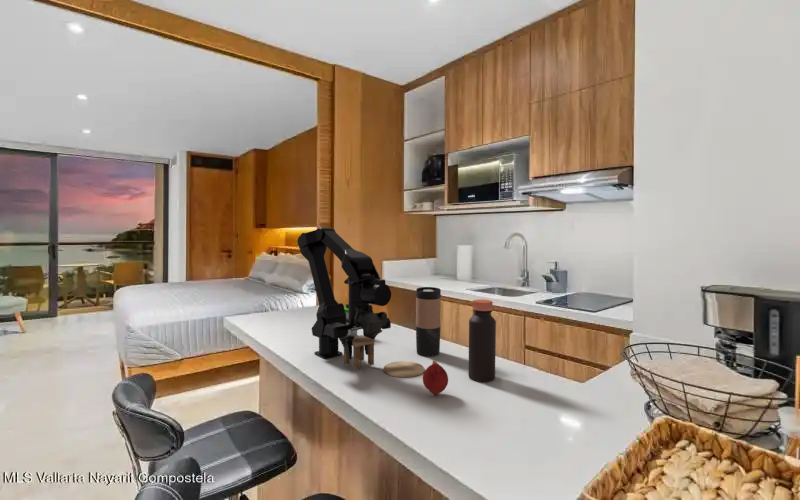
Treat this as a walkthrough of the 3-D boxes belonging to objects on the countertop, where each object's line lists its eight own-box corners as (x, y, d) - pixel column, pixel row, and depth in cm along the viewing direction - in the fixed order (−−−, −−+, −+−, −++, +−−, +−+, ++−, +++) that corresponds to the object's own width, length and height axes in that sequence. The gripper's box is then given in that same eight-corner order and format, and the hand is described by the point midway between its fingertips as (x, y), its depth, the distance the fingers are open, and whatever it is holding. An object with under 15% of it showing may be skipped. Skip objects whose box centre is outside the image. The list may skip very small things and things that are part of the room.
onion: (450, 391, 92) (450, 358, 92) (444, 401, 87) (445, 366, 87) (426, 388, 94) (426, 355, 94) (419, 397, 89) (419, 363, 88)
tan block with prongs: (343, 363, 110) (343, 338, 109) (361, 359, 114) (361, 335, 113) (355, 369, 105) (355, 343, 105) (373, 364, 109) (373, 339, 109)
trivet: (375, 369, 108) (375, 366, 107) (405, 360, 115) (405, 358, 115) (401, 380, 99) (401, 378, 99) (432, 371, 106) (432, 368, 106)
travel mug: (441, 349, 125) (442, 287, 123) (438, 357, 118) (439, 292, 116) (417, 347, 127) (418, 286, 125) (413, 355, 119) (414, 291, 117)
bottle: (497, 375, 103) (498, 299, 102) (492, 384, 97) (493, 304, 96) (472, 371, 106) (473, 298, 105) (465, 379, 100) (466, 302, 99)
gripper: (345, 309, 96) (345, 372, 97) (403, 301, 108) (403, 357, 109) (323, 303, 105) (323, 360, 106) (379, 296, 117) (378, 348, 118)
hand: (358, 356), depth 109 cm, fingers closed on tan block with prongs, 5 cm apart
